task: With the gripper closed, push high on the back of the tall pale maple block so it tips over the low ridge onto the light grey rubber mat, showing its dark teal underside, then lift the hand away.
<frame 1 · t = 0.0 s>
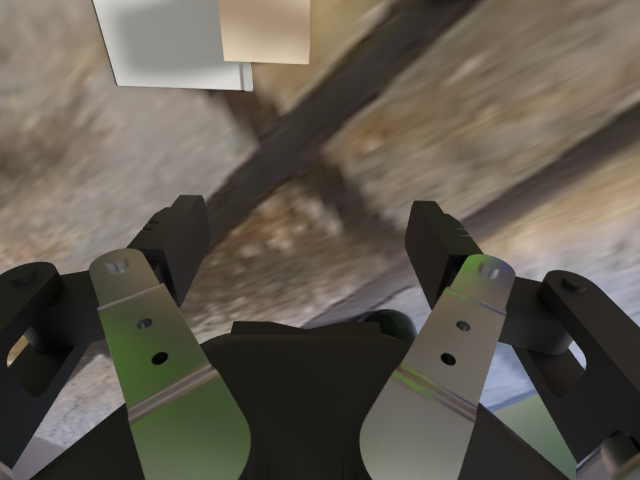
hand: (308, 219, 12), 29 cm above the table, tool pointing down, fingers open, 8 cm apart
green wine bottle: (385, 327, 60), on the table
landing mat: (172, 11, 32), on the table
maple block: (280, 16, 33), on the table
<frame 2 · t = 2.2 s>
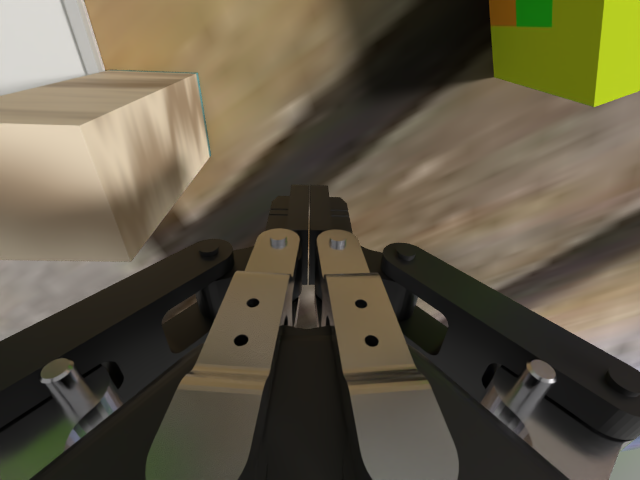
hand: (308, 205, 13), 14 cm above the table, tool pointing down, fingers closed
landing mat: (15, 111, 24), on the table
maple block: (164, 115, 24), on the table
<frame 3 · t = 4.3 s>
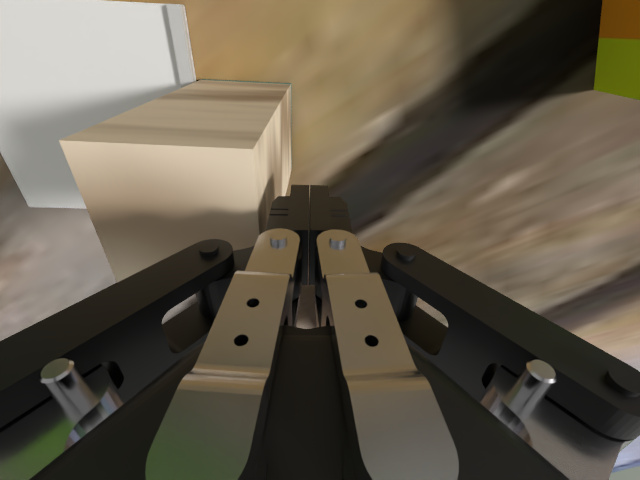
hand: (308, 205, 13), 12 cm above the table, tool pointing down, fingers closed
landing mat: (96, 120, 23), on the table
maple block: (250, 126, 23), on the table, touching gripper
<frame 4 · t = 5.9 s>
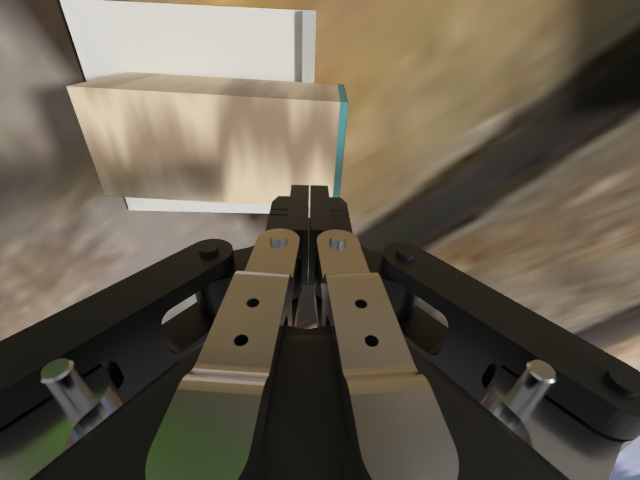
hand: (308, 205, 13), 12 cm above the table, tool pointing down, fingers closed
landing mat: (209, 125, 23), on the table
maple block: (341, 144, 20), point 4 cm above the table, tilted 93°, touching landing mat
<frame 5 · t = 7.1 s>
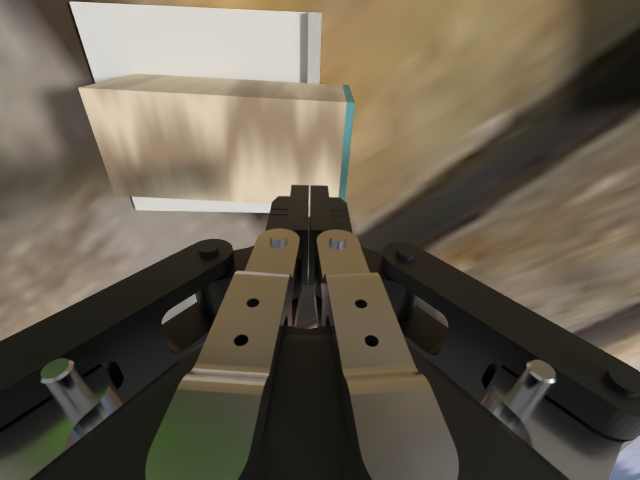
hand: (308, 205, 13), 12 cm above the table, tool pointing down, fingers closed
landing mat: (215, 125, 23), on the table
maple block: (346, 143, 20), point 4 cm above the table, tilted 93°, touching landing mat
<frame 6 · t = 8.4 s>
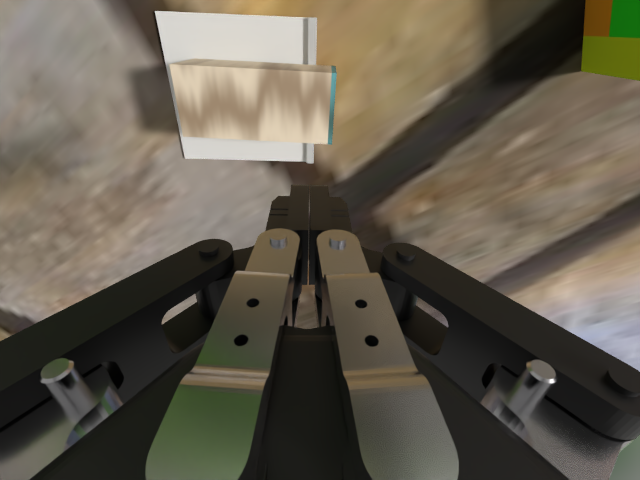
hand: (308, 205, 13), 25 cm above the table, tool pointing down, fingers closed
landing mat: (244, 95, 34), on the table
maple block: (333, 104, 31), point 4 cm above the table, tilted 93°, touching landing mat
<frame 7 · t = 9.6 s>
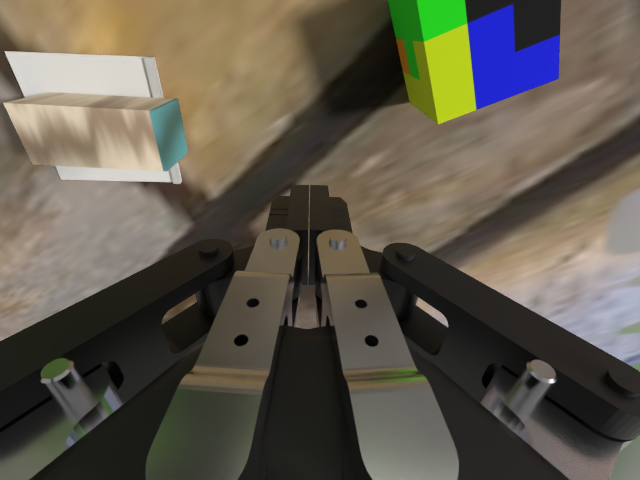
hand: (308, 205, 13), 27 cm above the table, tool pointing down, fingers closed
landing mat: (104, 123, 37), on the table
puzzle toy: (445, 35, 33), on the table
maple block: (172, 134, 34), point 4 cm above the table, tilted 93°, touching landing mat
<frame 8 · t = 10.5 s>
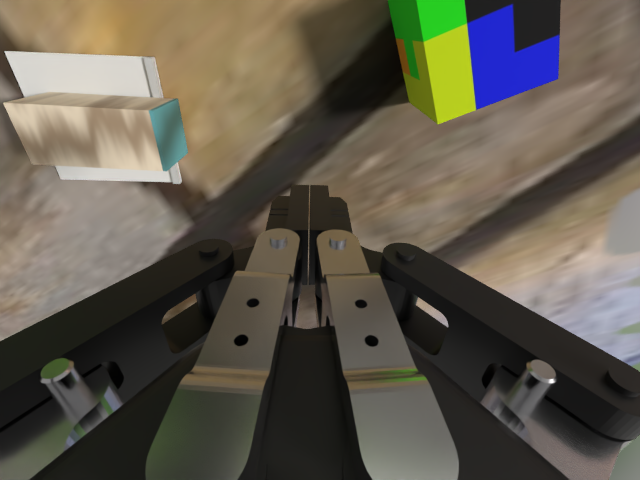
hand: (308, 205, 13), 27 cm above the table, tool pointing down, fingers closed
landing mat: (104, 123, 37), on the table
puzzle toy: (445, 35, 33), on the table
maple block: (172, 134, 34), point 4 cm above the table, tilted 93°, touching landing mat
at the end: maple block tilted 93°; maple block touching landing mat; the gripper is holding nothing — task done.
